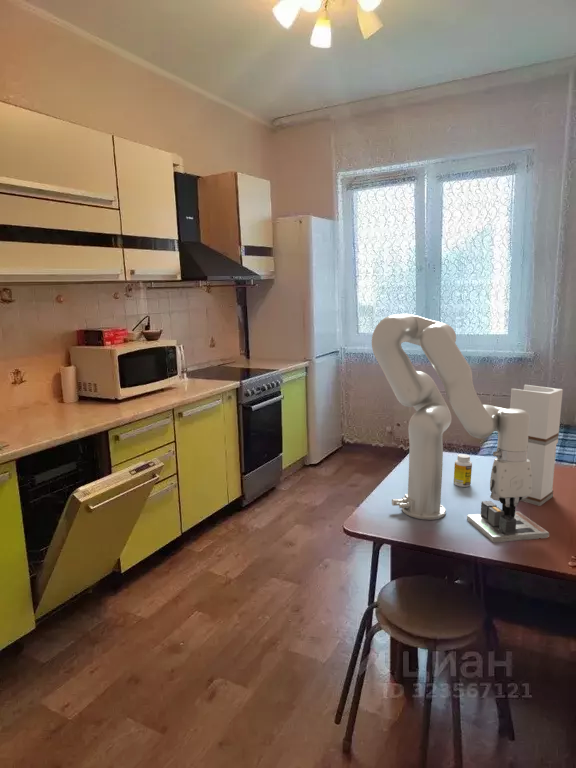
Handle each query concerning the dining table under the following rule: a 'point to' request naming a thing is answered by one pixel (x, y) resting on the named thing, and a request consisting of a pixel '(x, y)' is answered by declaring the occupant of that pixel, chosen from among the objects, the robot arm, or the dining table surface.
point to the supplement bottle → (462, 471)
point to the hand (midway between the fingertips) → (508, 518)
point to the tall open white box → (540, 436)
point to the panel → (509, 537)
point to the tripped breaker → (494, 515)
